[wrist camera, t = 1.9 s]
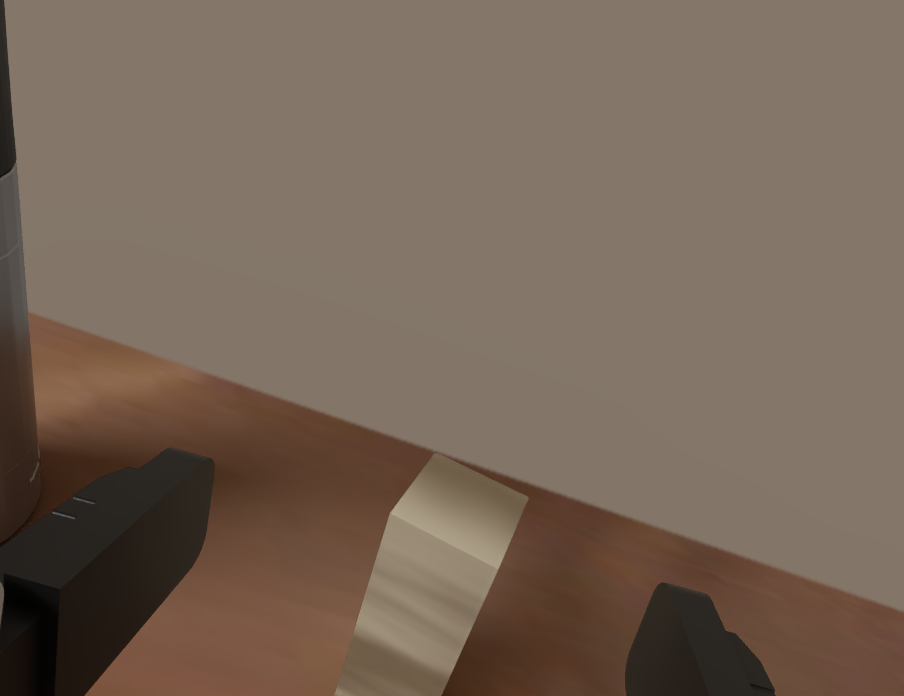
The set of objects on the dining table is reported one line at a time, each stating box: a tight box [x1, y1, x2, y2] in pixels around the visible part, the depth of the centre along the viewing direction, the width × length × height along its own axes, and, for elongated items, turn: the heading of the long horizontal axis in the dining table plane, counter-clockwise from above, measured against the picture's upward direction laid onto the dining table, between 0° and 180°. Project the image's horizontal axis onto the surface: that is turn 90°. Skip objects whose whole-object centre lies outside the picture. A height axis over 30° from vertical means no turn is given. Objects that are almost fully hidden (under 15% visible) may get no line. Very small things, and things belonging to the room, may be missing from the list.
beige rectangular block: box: [335, 452, 529, 696], centre depth 24 cm, size 4×4×12 cm
